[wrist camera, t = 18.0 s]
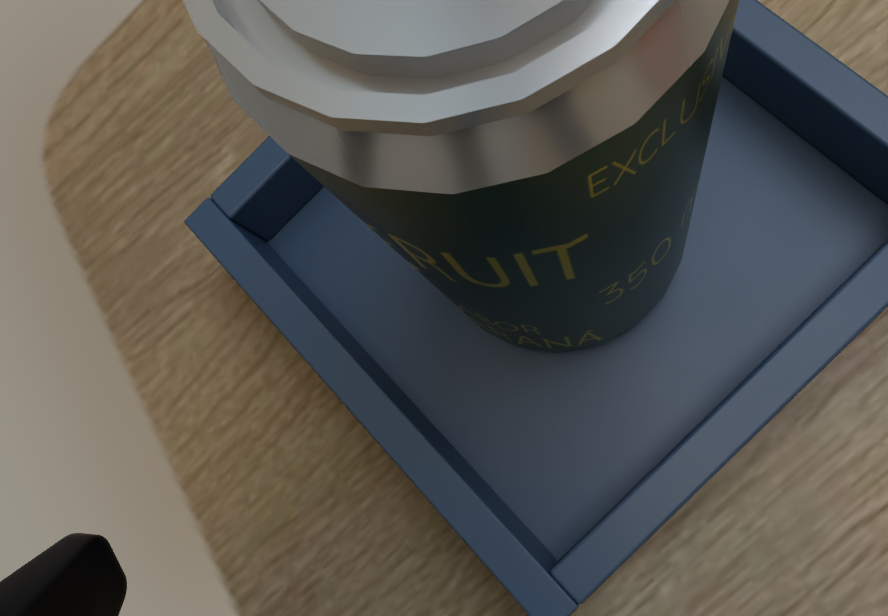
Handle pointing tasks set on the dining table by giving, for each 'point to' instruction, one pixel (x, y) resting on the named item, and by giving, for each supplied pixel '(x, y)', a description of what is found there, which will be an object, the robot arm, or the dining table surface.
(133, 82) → the dining table surface
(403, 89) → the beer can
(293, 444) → the dining table surface
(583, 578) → the tray
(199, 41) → the dining table surface
